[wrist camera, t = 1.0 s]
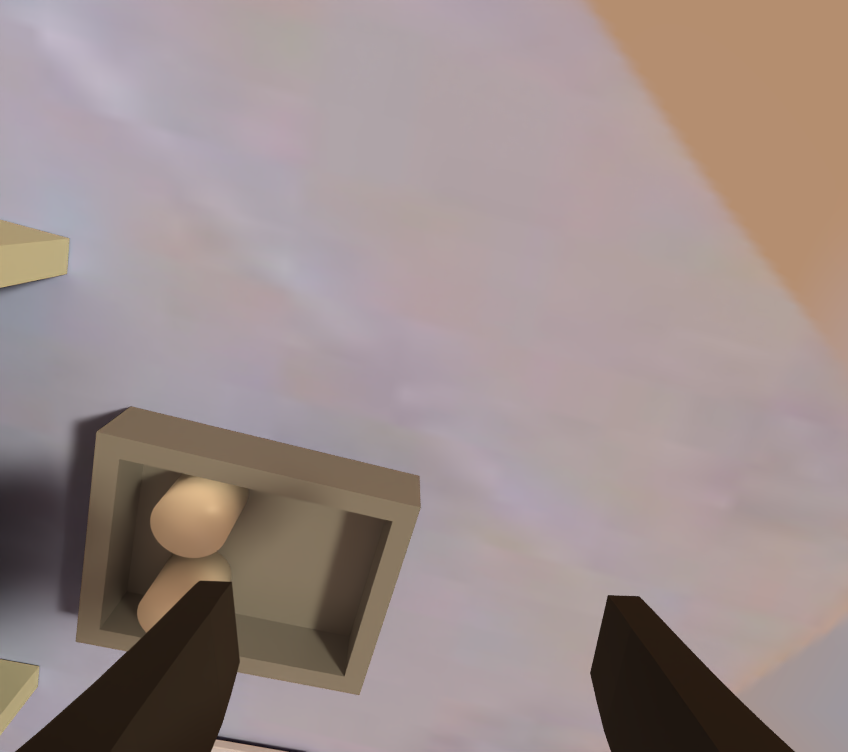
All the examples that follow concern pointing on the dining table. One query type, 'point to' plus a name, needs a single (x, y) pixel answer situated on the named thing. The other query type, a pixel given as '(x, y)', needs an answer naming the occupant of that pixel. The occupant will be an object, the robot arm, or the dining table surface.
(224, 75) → the dining table surface
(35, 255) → the bench
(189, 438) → the tray
